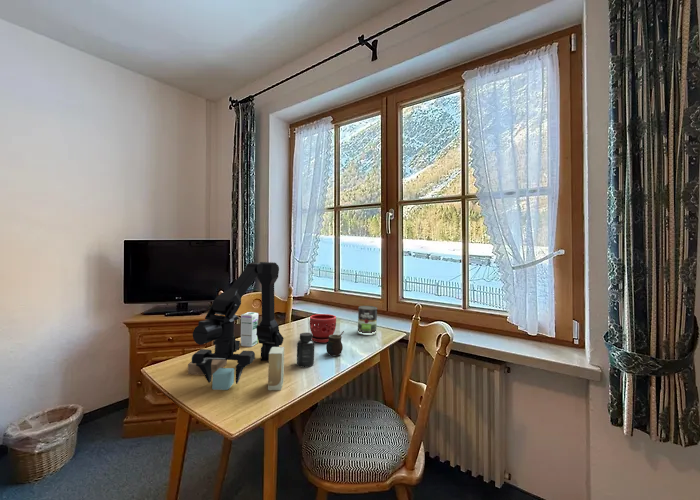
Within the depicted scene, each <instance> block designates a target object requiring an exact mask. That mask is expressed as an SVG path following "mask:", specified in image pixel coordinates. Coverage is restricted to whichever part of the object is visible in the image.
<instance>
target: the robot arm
mask: <svg viewBox="0 0 700 500" xmlns="http://www.w3.org/2000/svg"><path fill="white" fill-rule="evenodd" d="M279 266H280V265H278V264H277V262H272V261H260V262H259V263H258V262H249V263H247V264H246V266H245V268H244V270H243V271H242V272H241V273H240V274H239V276H238V277H237V278H236V279H235V281H234V282H233V283H232V285H231V286H230V287H229V288H228V289H227V290H225V291H223V292H221V293H219V295H218V296H216V297H215V298H214V299H213V301H212V304H211V305H210V308H209V310H208V312H207V314H206V315H205V317H204V319H205V320H199V321H198V324H197V325H196V326H195V328H194V329H193V331H192V339H193V341H194V343H195V344H197V345H200V346H203V345H206V344H208V343H210V342H212V343H213V344H212V345H214V353H213V351H212V350H211V349H203V348H200V349H199V350H198V351H196V352H194V354H192V356H191V361H192V363H194V364H196V366H199V368H200V369H201V371H202V372H203V374H204V375H203V376H204V378H205V379H206V381H207V383H208V384H211V382H212V375H211V363H212V359H215V360H227V361H236V362H237V364H236V366H235V378H234V381H235V385H236V384H237V385H238V384H239V382H240V379H241V376H242V374H243V371H244V369H245V368H246V367H247V366H250V365H251V364H252V363H253V362H254V360H255V359H256V354H255V352H254V351H253V350H242V351H241V352H240V353H236V352H237V351H240V346H241V340H238V339H237V340H236V336H235V321H237V320H239V318H240V317H239V316H238V315H236V314H237V312H238V310H239V309H240V307H241V305H242V298H243V296H244V294H245V293H246V292H247V290H248V289H249V288H250V287H251V285H252V283H254V281H255V279H256V278H257V279H258V281H259V283H260V284H261V286H260V287H261V290H260V291H261V294H260V295H261V321H260V323H258V325H257V327H256V328H257V333H256V335H257V337H258V344H260V345H262V346H261V347H260V361H264V362H266V361H267V362H269V352H270V350H271V348H272V347H280V346H282V344H283V343H284V340H285V339H284V336H283V335H282V334H281V333H280V328H279V327H280V326H279V323H277V321H276V319H275V317H276V316H275V283H276V281H277V280H278V278H279V273H280V267H279Z"/></svg>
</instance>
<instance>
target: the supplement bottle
mask: <svg viewBox="0 0 700 500" xmlns="http://www.w3.org/2000/svg"><path fill="white" fill-rule="evenodd" d="M314 364H315V341H313V340H312V333H311V332H302V333H300V334H299V340H298V341H297V343H296V365H297V366H298V367H300V368H309V367H312V366H313V365H314Z"/></svg>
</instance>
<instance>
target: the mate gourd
mask: <svg viewBox="0 0 700 500" xmlns="http://www.w3.org/2000/svg"><path fill="white" fill-rule="evenodd" d="M344 333H345V331H344V330H343V331H342V332H341V333H340V334H333V335H329V338H328V339H329V340H328V343H327V342H326V346H325V350H326V353H327V354H328V355H329V356H330V355H331V356H332V357H338V356H340V355H341V354H342V351H343V350H344V349H343V344H342V335H343V334H344Z"/></svg>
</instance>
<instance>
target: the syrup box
mask: <svg viewBox="0 0 700 500" xmlns="http://www.w3.org/2000/svg"><path fill="white" fill-rule="evenodd" d="M257 325H259V312H254V311H247V312H246V313H242V314H241V315H240V346H242V347H248V348H249V347H250V348H252V347H253V346H255V345H256V344H259V341H258V337H257V335H256V333H257V328H256V327H257Z"/></svg>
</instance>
